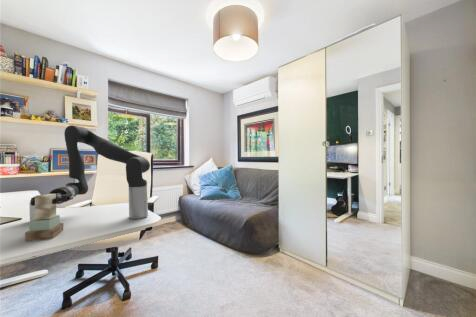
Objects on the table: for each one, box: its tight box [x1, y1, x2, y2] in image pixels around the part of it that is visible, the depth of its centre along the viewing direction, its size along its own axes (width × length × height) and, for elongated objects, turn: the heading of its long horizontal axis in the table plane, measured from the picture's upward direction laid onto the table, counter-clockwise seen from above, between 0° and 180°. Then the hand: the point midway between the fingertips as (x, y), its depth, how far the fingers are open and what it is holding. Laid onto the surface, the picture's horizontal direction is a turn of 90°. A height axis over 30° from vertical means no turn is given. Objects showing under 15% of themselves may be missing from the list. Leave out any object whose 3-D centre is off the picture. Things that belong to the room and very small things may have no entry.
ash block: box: [34, 193, 57, 220], centre depth 88 cm, size 5×5×10 cm
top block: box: [28, 214, 61, 231], centre depth 88 cm, size 7×7×4 cm
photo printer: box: [28, 199, 35, 222], centre depth 108 cm, size 10×4×12 cm, turn 123°
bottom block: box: [24, 222, 64, 242], centre depth 88 cm, size 9×9×4 cm
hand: (43, 202), depth 86 cm, fingers open, 6 cm apart
